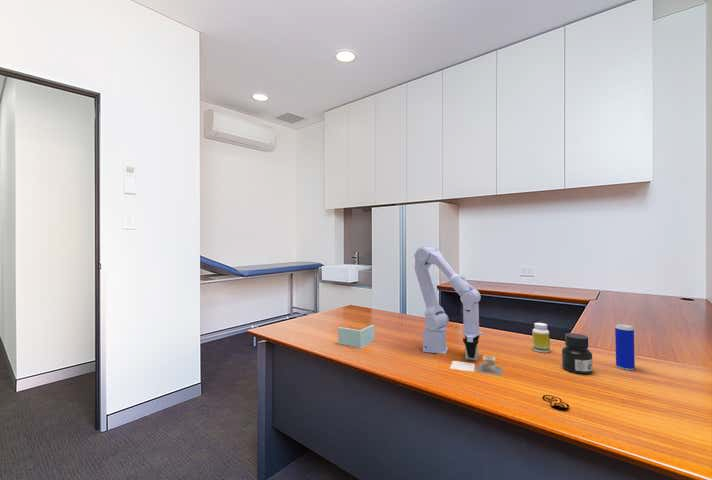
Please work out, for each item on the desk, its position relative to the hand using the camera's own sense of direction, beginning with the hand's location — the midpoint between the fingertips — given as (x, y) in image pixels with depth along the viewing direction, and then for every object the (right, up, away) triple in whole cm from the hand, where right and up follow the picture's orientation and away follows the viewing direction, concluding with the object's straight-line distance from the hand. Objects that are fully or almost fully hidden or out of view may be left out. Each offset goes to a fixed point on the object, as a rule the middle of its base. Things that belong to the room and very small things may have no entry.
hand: (471, 355), depth 126 cm
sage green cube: (0, -2, 0) cm, 2 cm away
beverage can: (+51, -1, -11) cm, 52 cm away
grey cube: (+2, -1, -12) cm, 12 cm away
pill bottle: (+32, -1, +8) cm, 33 cm away
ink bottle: (+33, -1, -12) cm, 35 cm away
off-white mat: (-6, -2, -8) cm, 10 cm away
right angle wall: (-45, -3, +23) cm, 51 cm away
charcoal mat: (+2, -1, -12) cm, 12 cm away
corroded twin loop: (+11, -2, -35) cm, 37 cm away
